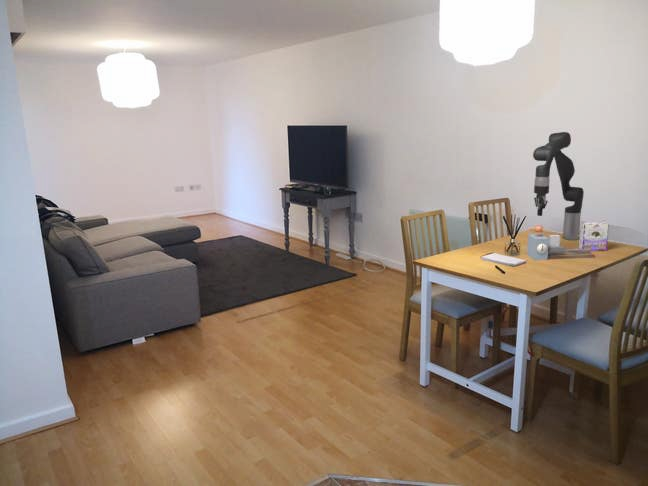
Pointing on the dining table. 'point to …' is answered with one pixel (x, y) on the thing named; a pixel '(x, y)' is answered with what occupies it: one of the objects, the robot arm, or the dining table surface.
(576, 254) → the rail track
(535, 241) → the end cabinet
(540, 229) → the button
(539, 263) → the dining table surface
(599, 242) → the candy box
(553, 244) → the carriage
